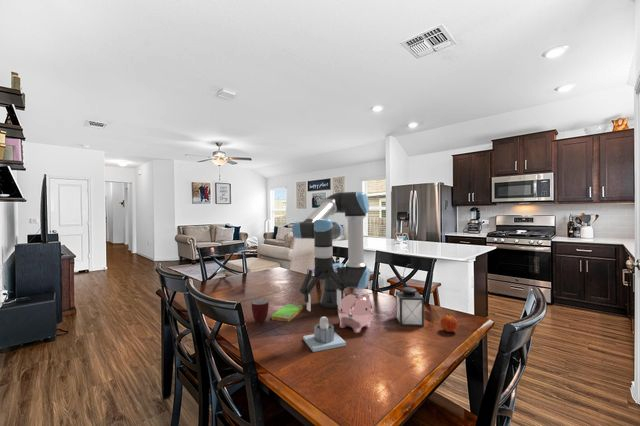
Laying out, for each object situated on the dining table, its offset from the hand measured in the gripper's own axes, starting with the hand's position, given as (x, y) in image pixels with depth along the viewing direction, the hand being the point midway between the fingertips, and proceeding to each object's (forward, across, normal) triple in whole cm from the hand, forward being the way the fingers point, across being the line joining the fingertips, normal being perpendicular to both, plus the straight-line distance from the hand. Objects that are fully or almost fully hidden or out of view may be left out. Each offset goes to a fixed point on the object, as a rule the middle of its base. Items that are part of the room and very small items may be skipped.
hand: (324, 307), depth 121 cm
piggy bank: (+15, -20, -8) cm, 26 cm away
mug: (+15, +22, -30) cm, 40 cm away
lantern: (+15, -46, -4) cm, 49 cm away
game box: (+16, +5, -38) cm, 41 cm away
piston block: (+14, 0, 0) cm, 14 cm away
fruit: (+15, -56, +12) cm, 59 cm away
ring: (+13, 0, 0) cm, 13 cm away
